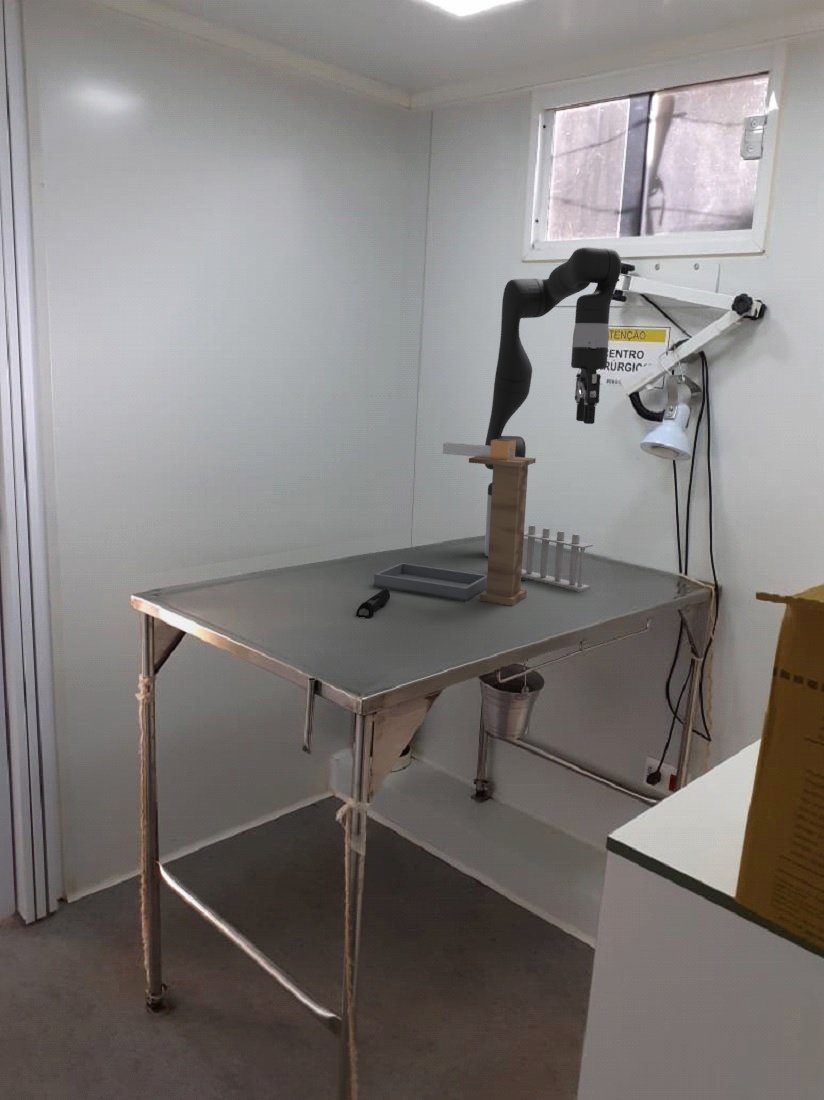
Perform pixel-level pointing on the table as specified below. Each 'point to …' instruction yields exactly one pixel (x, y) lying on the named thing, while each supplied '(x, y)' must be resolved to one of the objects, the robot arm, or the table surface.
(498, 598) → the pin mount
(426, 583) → the parts tray
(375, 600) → the electric trimmer
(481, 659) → the table surface
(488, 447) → the lock pin
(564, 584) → the test tube rack
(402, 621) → the table surface
